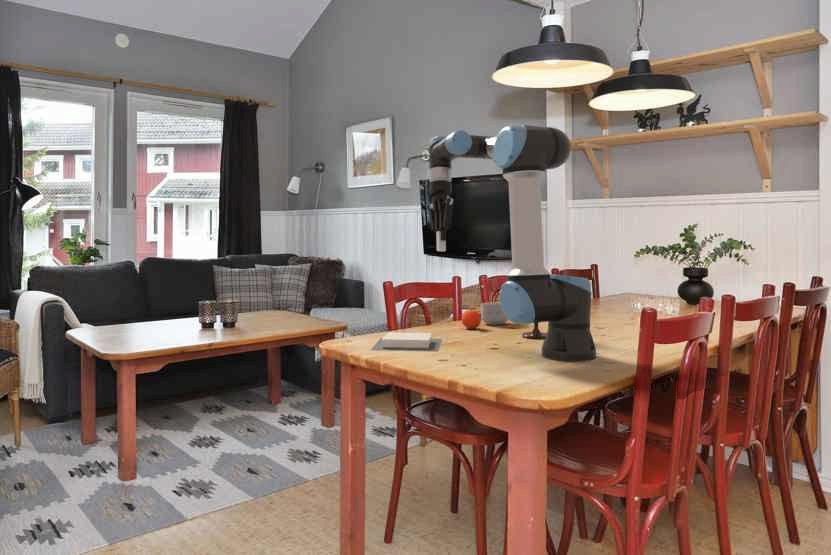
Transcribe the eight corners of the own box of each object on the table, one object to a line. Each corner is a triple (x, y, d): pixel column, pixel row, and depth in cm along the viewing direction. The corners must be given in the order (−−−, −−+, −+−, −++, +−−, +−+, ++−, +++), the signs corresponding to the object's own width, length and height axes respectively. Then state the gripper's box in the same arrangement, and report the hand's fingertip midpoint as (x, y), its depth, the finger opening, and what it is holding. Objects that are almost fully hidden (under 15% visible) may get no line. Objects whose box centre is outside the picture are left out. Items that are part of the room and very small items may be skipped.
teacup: (485, 326, 239) (485, 305, 239) (476, 322, 250) (476, 301, 249) (521, 325, 242) (521, 304, 241) (511, 321, 253) (511, 300, 252)
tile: (387, 332, 208) (381, 339, 196) (431, 333, 207) (428, 340, 195) (387, 340, 209) (381, 348, 197) (431, 341, 207) (428, 349, 195)
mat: (380, 339, 214) (380, 337, 214) (442, 340, 212) (442, 338, 212) (370, 351, 194) (370, 349, 194) (437, 353, 192) (437, 351, 192)
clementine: (457, 329, 233) (457, 310, 232) (460, 326, 239) (460, 307, 239) (479, 330, 231) (479, 310, 230) (482, 327, 237) (482, 308, 237)
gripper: (461, 179, 219) (462, 248, 215) (438, 188, 230) (438, 255, 226) (442, 175, 215) (443, 246, 211) (420, 185, 226) (420, 252, 222)
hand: (441, 250), depth 219 cm, fingers closed
